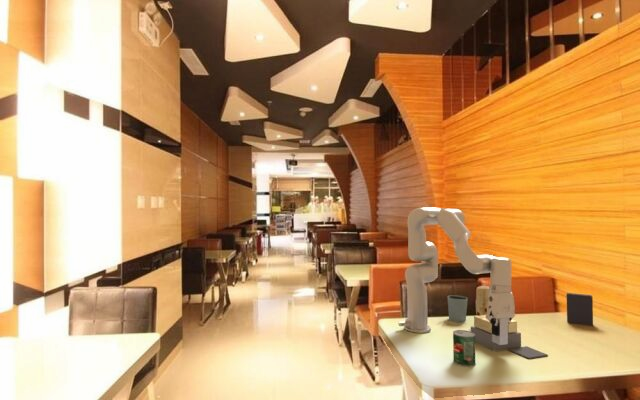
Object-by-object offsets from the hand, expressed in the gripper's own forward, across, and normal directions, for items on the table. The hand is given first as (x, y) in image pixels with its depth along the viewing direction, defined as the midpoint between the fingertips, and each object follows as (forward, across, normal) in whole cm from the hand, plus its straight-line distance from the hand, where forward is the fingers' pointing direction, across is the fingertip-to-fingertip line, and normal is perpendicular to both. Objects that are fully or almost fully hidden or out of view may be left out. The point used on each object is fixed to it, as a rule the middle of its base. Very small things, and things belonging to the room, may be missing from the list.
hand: (499, 333), depth 150 cm
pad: (+8, +12, -2) cm, 15 cm away
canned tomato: (+9, -19, -2) cm, 21 cm away
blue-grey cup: (+10, +17, +47) cm, 51 cm away
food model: (+9, +23, +33) cm, 41 cm away
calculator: (+9, +73, +22) cm, 77 cm away
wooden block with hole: (+2, +9, +11) cm, 15 cm away
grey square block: (+9, +8, +11) cm, 16 cm away
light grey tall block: (+4, 0, 0) cm, 4 cm away
